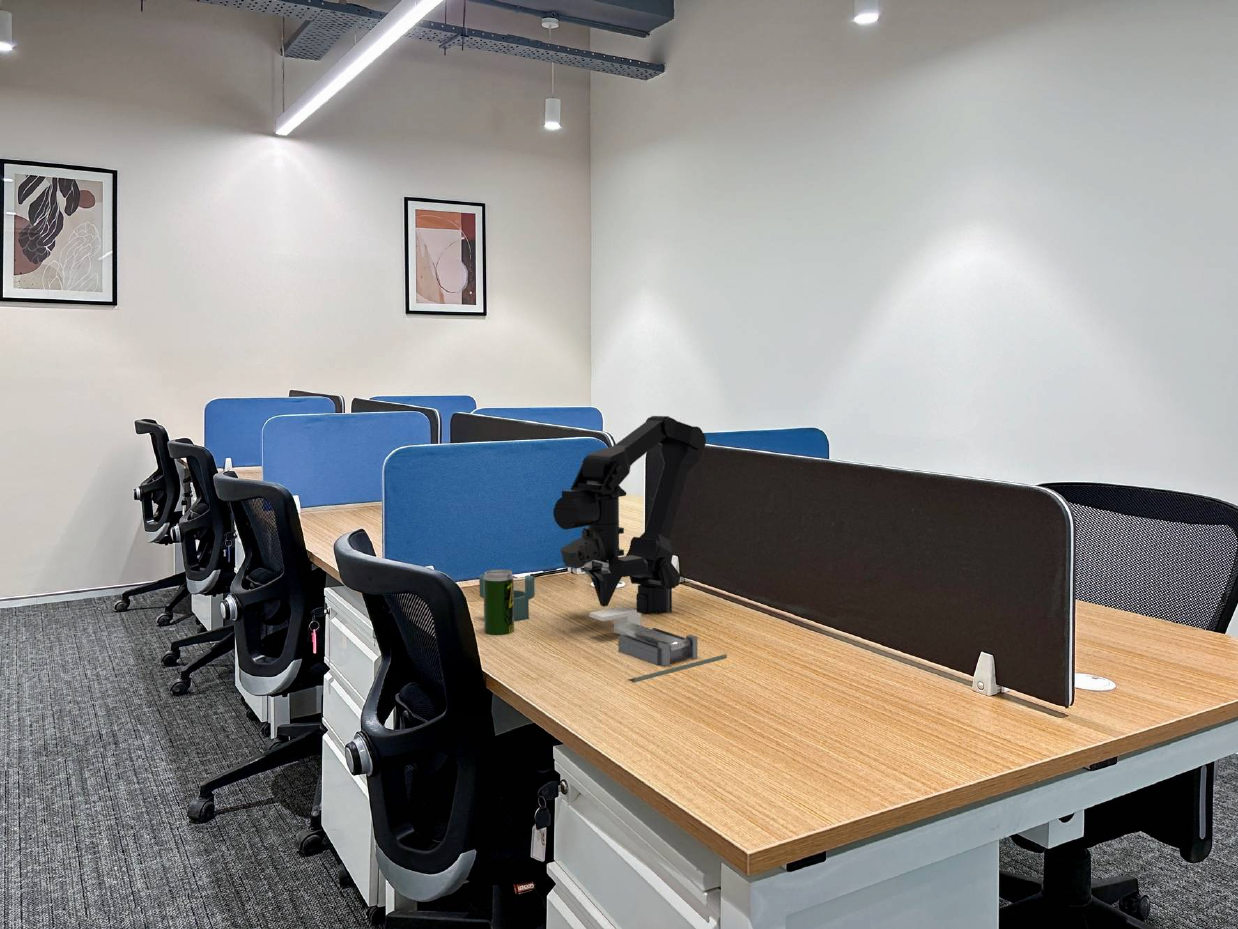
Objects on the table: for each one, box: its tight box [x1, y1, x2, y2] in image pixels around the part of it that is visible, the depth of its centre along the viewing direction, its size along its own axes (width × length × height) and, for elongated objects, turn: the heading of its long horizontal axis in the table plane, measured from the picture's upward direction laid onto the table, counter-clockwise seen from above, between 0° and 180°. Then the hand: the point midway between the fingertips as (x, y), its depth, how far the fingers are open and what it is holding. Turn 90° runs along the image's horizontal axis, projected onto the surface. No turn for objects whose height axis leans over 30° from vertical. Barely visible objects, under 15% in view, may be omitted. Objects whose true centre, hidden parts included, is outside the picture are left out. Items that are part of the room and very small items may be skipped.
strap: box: [617, 622, 690, 652], centre depth 155 cm, size 4×15×1 cm, turn 38°
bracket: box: [478, 573, 535, 623], centre depth 181 cm, size 9×9×9 cm
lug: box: [588, 605, 642, 637], centre depth 165 cm, size 8×4×4 cm, turn 128°
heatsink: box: [617, 627, 698, 668], centre depth 154 cm, size 8×11×4 cm
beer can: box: [483, 569, 515, 636], centre depth 168 cm, size 5×5×12 cm
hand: (604, 606), depth 172 cm, fingers closed
